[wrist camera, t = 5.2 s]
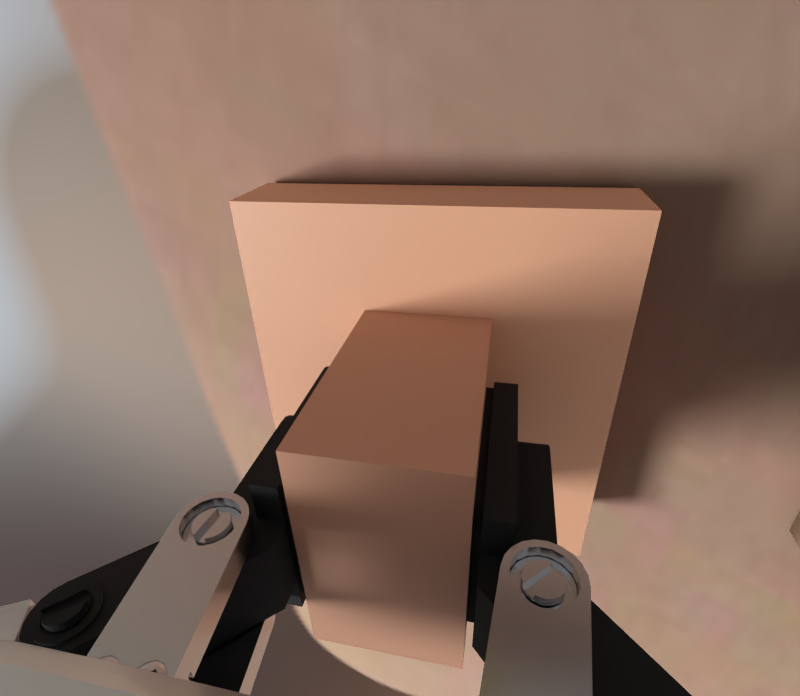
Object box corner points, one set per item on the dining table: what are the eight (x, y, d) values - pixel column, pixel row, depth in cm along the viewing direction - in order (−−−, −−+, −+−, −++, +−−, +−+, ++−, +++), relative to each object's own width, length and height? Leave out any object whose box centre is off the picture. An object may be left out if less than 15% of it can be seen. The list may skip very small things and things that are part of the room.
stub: (640, 187, 11) (784, 335, 5) (573, 503, 16) (605, 765, 10) (268, 183, 13) (44, 287, 7) (313, 468, 18) (209, 672, 12)
